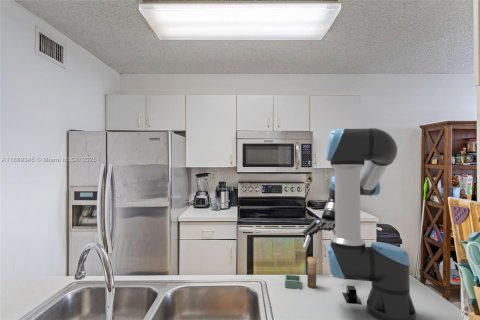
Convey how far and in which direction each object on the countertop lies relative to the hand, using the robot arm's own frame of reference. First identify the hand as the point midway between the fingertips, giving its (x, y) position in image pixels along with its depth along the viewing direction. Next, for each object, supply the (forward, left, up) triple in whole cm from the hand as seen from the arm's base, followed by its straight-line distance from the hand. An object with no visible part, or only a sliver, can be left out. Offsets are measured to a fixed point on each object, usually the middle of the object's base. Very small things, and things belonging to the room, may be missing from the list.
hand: (318, 251), depth 124 cm
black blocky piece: (-15, -11, -14) cm, 23 cm away
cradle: (-7, +12, -13) cm, 19 cm away
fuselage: (-7, +4, -13) cm, 15 cm away
